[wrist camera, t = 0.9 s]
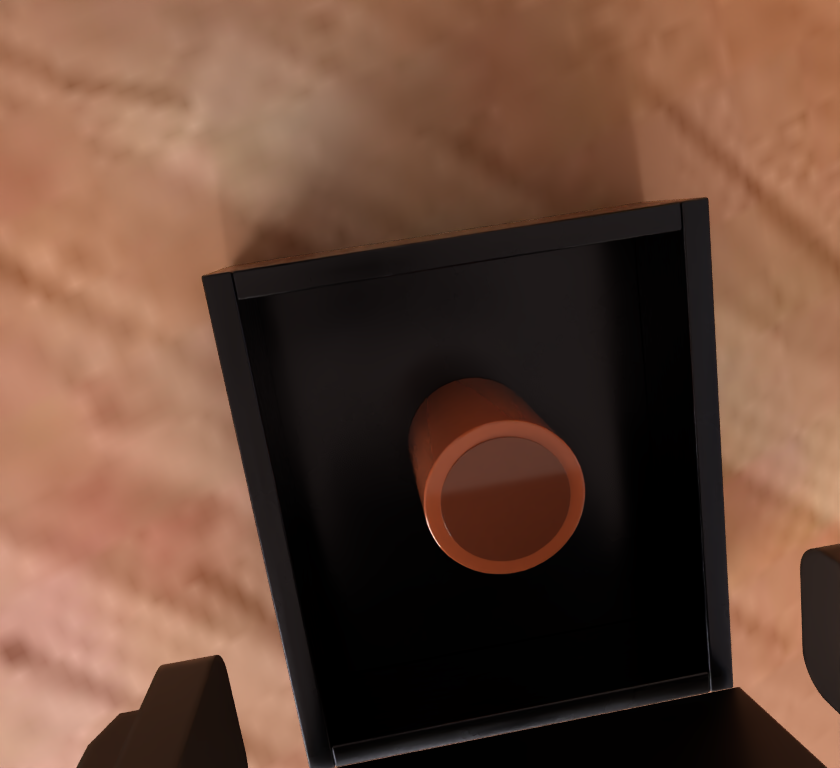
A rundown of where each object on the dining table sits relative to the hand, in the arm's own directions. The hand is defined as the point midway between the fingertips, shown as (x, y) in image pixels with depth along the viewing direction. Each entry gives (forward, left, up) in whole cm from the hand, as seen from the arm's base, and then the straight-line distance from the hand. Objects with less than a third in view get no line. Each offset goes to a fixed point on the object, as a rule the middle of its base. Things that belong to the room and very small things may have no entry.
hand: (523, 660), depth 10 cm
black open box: (+4, +2, -18) cm, 19 cm away
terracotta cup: (+3, +2, -17) cm, 18 cm away
